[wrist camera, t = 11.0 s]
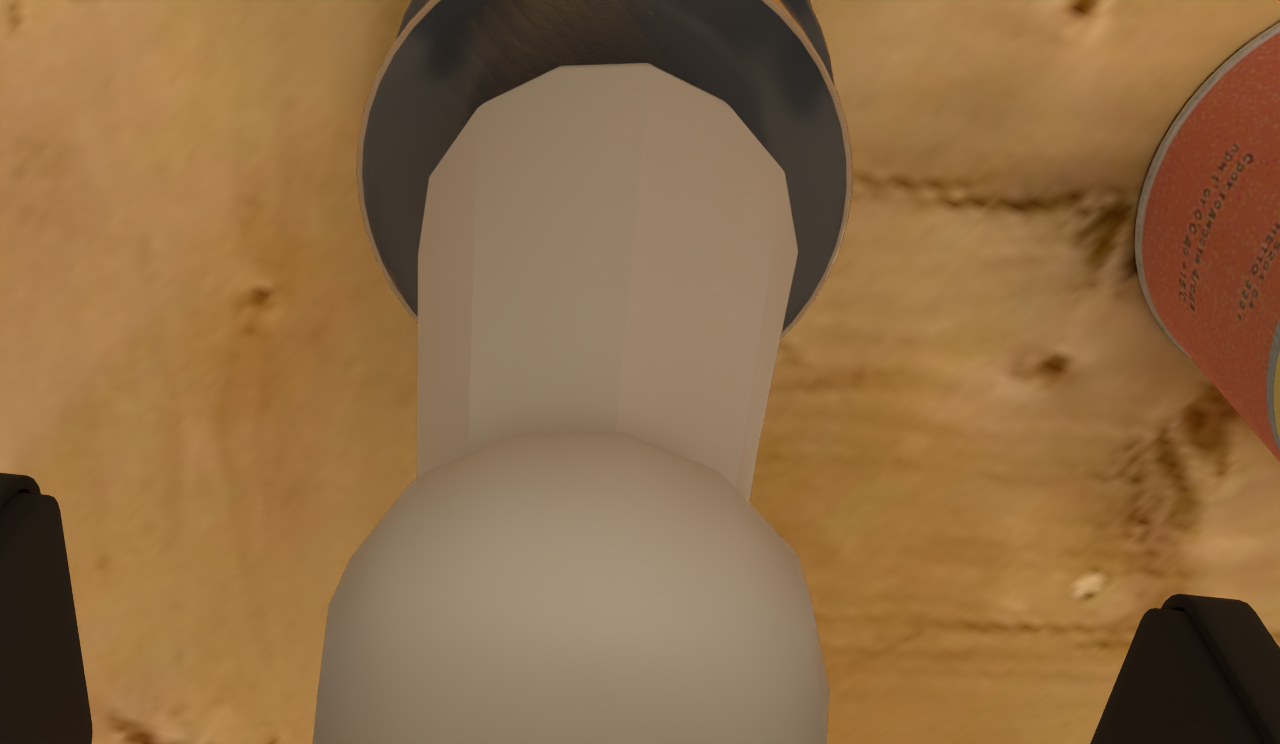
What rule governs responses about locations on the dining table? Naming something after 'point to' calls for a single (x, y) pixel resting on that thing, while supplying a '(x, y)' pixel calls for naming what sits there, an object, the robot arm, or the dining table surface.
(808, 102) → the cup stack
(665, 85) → the salt shaker
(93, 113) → the dining table surface
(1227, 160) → the canned food
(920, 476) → the dining table surface
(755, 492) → the dining table surface
